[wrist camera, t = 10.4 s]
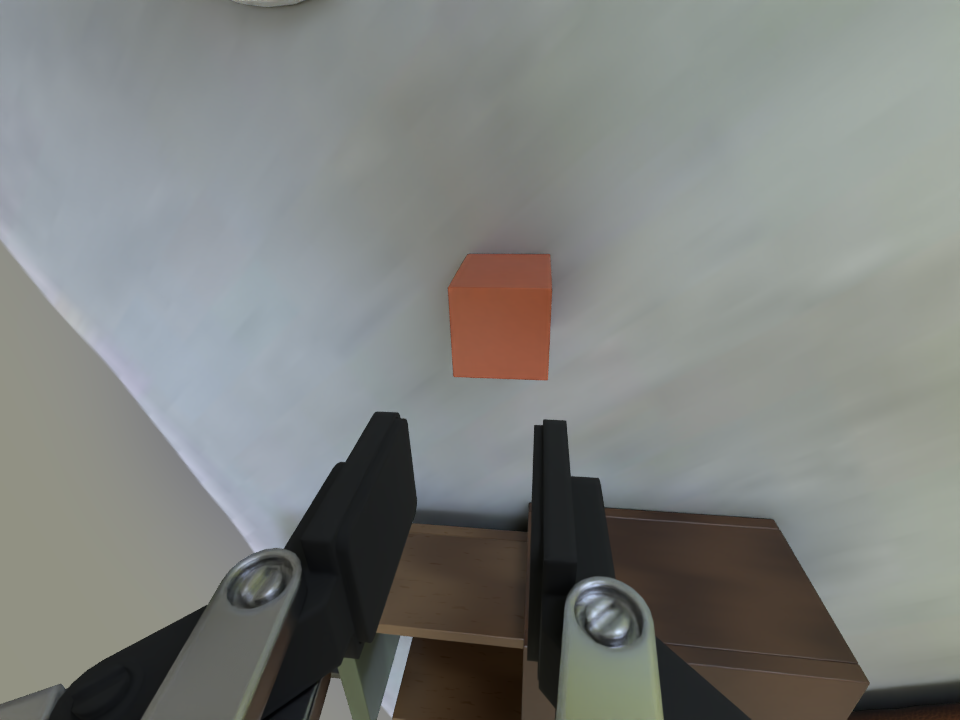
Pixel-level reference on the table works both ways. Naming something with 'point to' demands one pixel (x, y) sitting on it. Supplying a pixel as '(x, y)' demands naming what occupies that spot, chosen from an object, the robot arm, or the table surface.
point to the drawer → (449, 629)
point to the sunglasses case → (911, 713)
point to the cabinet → (728, 614)
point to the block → (501, 316)
